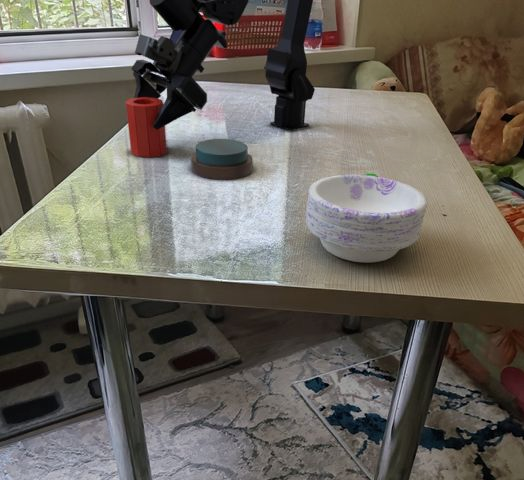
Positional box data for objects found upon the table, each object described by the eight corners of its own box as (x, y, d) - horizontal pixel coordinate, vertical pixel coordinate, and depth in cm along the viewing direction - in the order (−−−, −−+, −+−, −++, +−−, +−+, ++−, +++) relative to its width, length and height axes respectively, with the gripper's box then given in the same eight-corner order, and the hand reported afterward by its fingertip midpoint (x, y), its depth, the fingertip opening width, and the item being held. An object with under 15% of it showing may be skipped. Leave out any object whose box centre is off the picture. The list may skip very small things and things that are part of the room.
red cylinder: (164, 145, 108) (160, 96, 103) (168, 156, 103) (164, 105, 98) (130, 146, 107) (124, 97, 101) (132, 158, 102) (126, 106, 96)
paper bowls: (391, 222, 82) (401, 170, 77) (433, 271, 70) (448, 213, 66) (292, 226, 80) (296, 172, 75) (319, 278, 68) (325, 218, 63)
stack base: (226, 155, 105) (226, 133, 102) (264, 171, 98) (265, 148, 96) (179, 166, 99) (177, 144, 96) (217, 184, 92) (216, 160, 90)
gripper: (135, 9, 100) (87, 82, 101) (189, 22, 88) (134, 103, 89) (176, 54, 108) (131, 121, 109) (229, 71, 97) (179, 145, 98)
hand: (142, 122), depth 101 cm, fingers open, 9 cm apart
